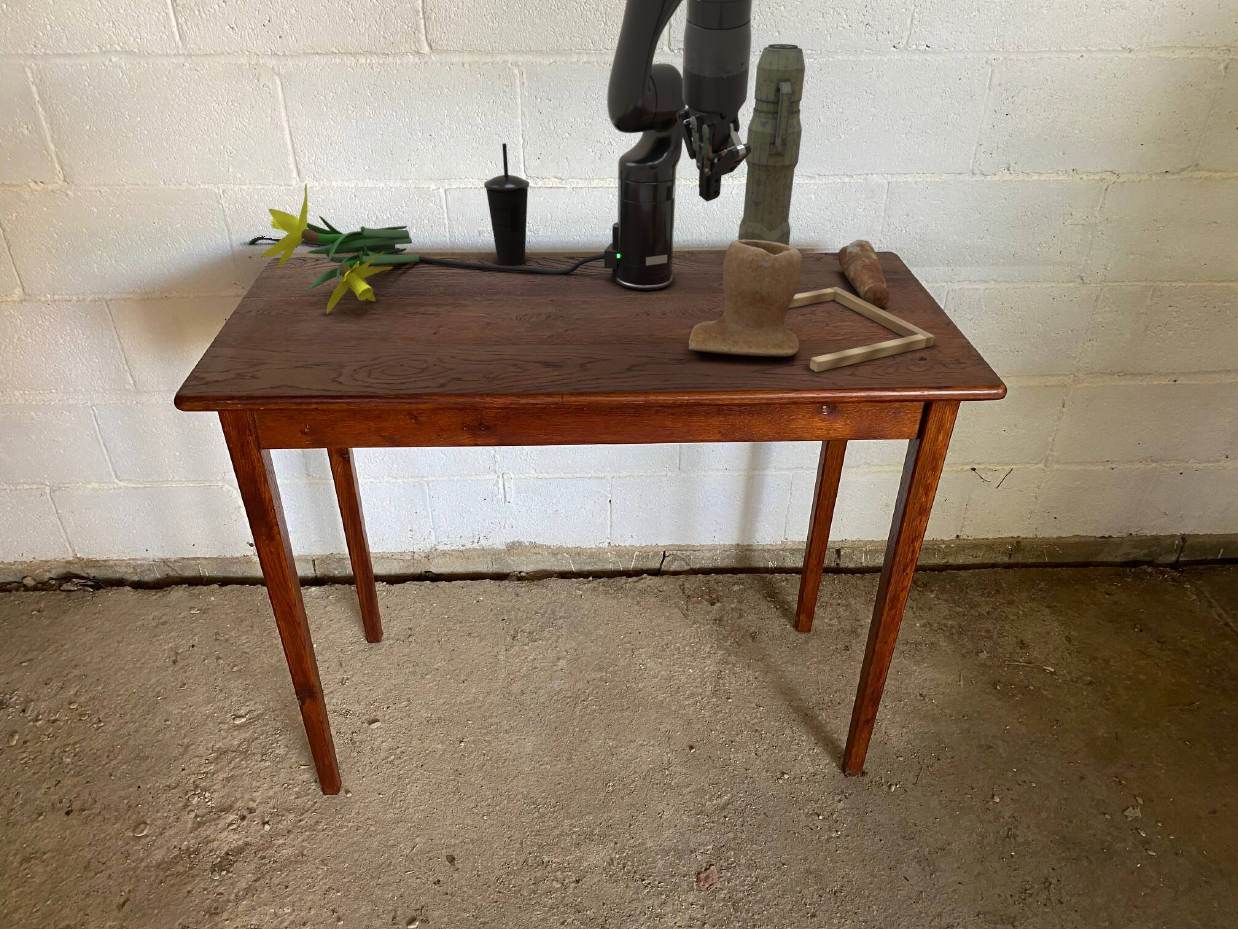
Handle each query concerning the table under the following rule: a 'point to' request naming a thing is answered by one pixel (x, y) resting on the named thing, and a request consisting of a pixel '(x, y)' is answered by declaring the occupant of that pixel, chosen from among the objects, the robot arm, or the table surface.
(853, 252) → the rusty brown cylinder
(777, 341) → the stone cup
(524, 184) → the drinking cup
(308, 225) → the daffodil flowers
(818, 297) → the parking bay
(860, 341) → the table surface
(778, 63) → the thermos
